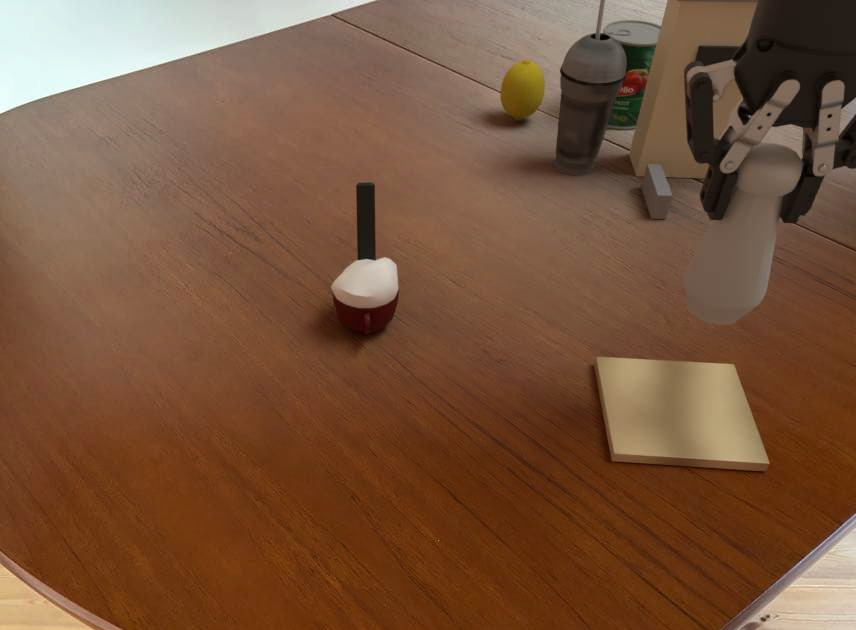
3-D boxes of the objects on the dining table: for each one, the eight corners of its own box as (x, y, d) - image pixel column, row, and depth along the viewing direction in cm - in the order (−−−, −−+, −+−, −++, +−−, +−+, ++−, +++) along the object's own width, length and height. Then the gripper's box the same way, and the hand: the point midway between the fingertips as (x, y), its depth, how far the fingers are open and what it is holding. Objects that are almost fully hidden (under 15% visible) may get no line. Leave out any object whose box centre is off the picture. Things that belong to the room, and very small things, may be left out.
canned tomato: (645, 104, 116) (666, 21, 108) (651, 131, 110) (674, 45, 103) (584, 101, 117) (601, 18, 109) (587, 127, 111) (605, 42, 104)
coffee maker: (733, 156, 105) (803, -48, 89) (766, 223, 94) (852, 4, 78) (624, 153, 106) (673, -49, 90) (644, 218, 95) (704, 2, 79)
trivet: (730, 372, 77) (734, 363, 76) (766, 471, 68) (770, 463, 68) (593, 364, 78) (595, 356, 77) (611, 461, 69) (614, 453, 69)
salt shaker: (768, 307, 65) (835, 149, 56) (735, 343, 62) (801, 183, 53) (695, 277, 68) (748, 123, 59) (660, 310, 65) (711, 153, 56)
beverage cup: (555, 183, 101) (589, 7, 87) (535, 154, 106) (563, -17, 93) (614, 177, 102) (657, 1, 88) (591, 149, 107) (627, -22, 93)
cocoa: (379, 355, 79) (384, 245, 71) (317, 339, 81) (315, 230, 73) (413, 298, 86) (420, 191, 77) (355, 284, 88) (356, 178, 79)
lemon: (491, 125, 112) (499, 64, 107) (503, 107, 116) (512, 48, 111) (533, 132, 111) (543, 71, 105) (544, 115, 114) (554, 54, 109)
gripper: (731, -31, 46) (652, 241, 58) (1018, -29, 44) (876, 250, 56) (702, -72, 51) (635, 185, 63) (957, -71, 50) (839, 192, 62)
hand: (749, 214), depth 60 cm, fingers closed on salt shaker, 4 cm apart
